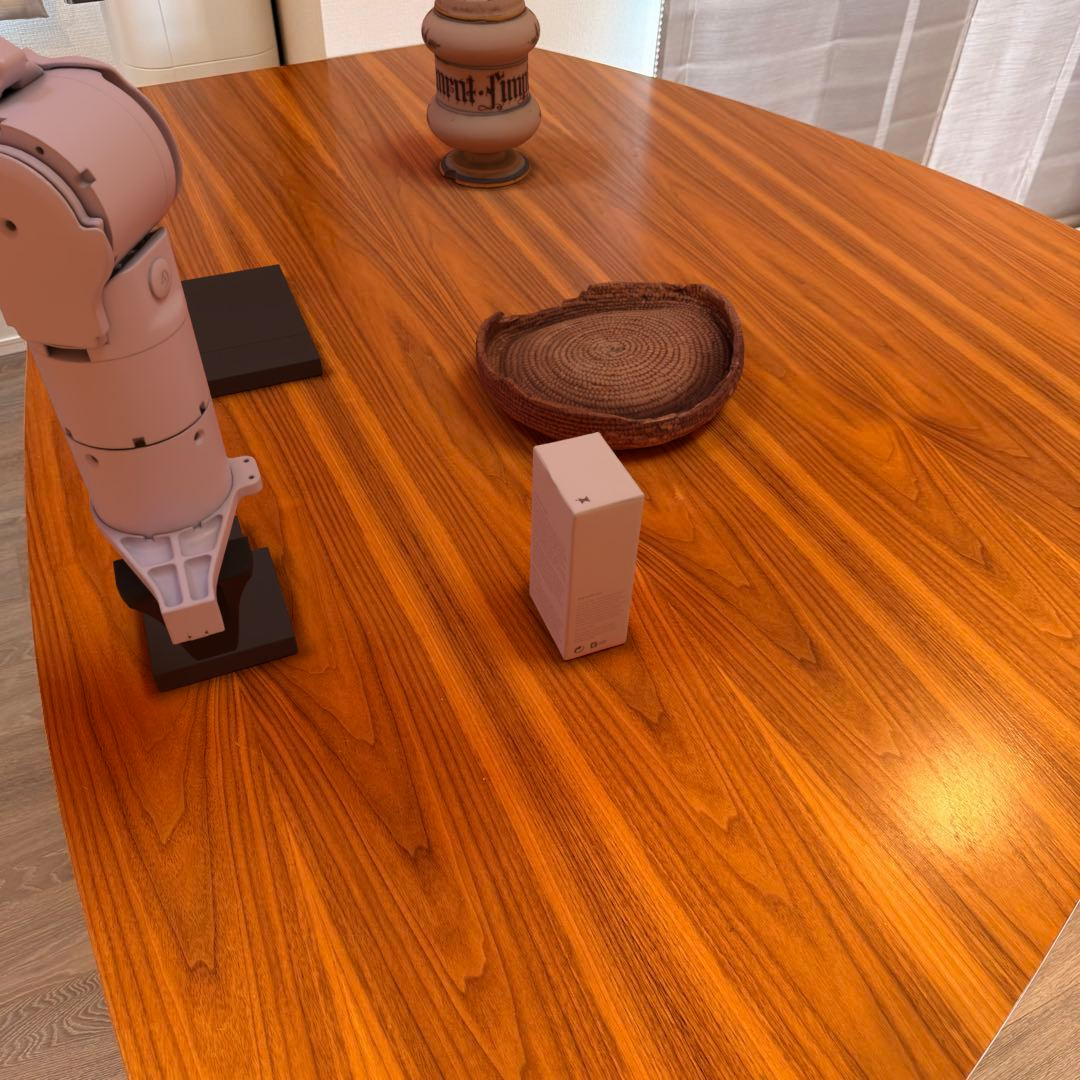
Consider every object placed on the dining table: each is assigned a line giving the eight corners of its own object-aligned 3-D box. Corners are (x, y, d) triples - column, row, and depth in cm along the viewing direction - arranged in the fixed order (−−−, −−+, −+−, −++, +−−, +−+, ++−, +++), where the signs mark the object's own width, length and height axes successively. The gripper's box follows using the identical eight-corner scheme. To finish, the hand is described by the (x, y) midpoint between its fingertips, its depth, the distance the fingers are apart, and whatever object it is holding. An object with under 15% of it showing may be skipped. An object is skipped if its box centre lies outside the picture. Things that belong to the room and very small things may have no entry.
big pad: (114, 418, 74) (108, 401, 72) (96, 312, 84) (91, 296, 83) (323, 374, 78) (320, 358, 77) (282, 279, 89) (279, 263, 87)
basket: (615, 285, 89) (619, 234, 86) (797, 379, 79) (810, 326, 76) (425, 382, 78) (421, 328, 74) (609, 506, 68) (615, 451, 64)
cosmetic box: (628, 644, 59) (648, 496, 50) (563, 663, 58) (572, 516, 49) (588, 575, 63) (600, 428, 54) (526, 592, 62) (529, 445, 53)
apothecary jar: (406, 168, 106) (392, -16, 93) (484, 136, 112) (480, -40, 100) (485, 203, 100) (481, 13, 88) (562, 168, 107) (569, -15, 94)
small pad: (159, 693, 56) (152, 675, 54) (137, 558, 63) (130, 540, 62) (299, 653, 58) (294, 635, 57) (261, 527, 65) (257, 509, 64)
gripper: (274, 494, 35) (324, 716, 45) (210, 297, 45) (263, 514, 54) (65, 544, 33) (165, 765, 43) (45, 327, 42) (130, 547, 52)
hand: (210, 627), depth 48 cm, fingers closed
